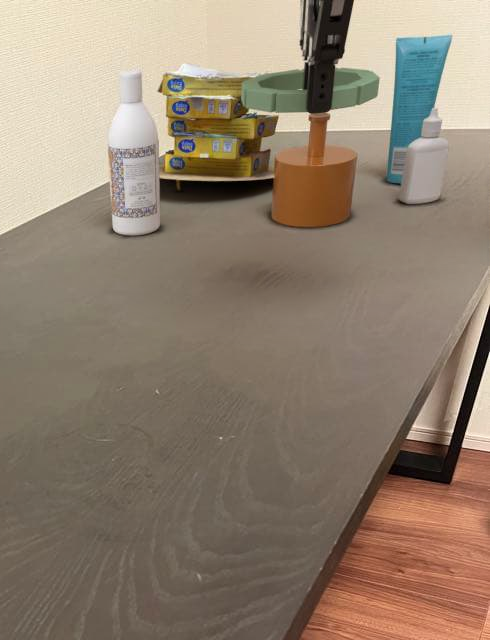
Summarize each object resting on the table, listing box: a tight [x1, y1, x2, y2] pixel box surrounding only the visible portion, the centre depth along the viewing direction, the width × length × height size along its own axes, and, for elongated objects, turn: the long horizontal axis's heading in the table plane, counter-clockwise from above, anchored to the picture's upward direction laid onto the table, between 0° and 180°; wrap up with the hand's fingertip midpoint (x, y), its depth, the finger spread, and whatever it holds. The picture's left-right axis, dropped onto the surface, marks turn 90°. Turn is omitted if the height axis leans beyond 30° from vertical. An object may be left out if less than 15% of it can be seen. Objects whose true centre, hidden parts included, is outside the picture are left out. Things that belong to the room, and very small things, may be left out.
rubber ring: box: [241, 67, 381, 114], centre depth 77 cm, size 13×13×2 cm
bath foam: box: [107, 69, 161, 236], centre depth 109 cm, size 7×7×20 cm
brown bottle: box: [270, 112, 358, 228], centre depth 110 cm, size 11×11×13 cm
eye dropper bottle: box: [398, 107, 450, 205], centre depth 111 cm, size 4×6×12 cm
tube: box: [385, 34, 453, 185], centre depth 117 cm, size 7×5×19 cm, turn 85°
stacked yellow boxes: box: [156, 62, 280, 191], centre depth 126 cm, size 25×25×17 cm
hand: (316, 108), depth 73 cm, fingers closed on rubber ring, 2 cm apart
